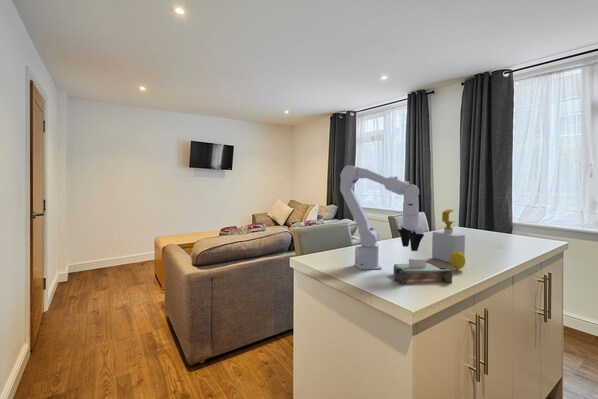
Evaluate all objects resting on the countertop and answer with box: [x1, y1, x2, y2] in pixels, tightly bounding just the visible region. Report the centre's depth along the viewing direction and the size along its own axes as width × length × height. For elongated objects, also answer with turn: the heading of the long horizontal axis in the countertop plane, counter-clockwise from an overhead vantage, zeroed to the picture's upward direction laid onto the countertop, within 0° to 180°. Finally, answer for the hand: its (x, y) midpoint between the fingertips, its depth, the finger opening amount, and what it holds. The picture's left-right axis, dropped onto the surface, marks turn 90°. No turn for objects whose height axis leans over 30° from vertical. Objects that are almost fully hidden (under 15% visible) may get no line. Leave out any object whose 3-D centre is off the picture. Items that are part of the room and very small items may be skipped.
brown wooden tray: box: [393, 266, 453, 286], centre depth 104 cm, size 19×11×4 cm, turn 95°
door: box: [393, 258, 448, 274], centre depth 105 cm, size 17×10×4 cm, turn 95°
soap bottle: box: [431, 209, 466, 264], centre depth 128 cm, size 12×7×23 cm, turn 23°
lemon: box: [449, 251, 466, 271], centre depth 114 cm, size 6×6×8 cm
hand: (409, 248), depth 112 cm, fingers open, 7 cm apart
